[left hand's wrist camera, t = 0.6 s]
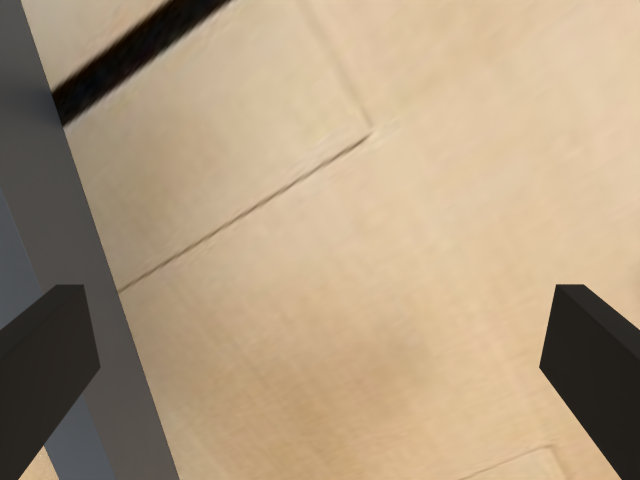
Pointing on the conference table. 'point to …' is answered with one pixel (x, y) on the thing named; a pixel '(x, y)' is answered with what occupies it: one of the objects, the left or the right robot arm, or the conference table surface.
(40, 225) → the bar
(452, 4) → the conference table surface
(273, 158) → the conference table surface
